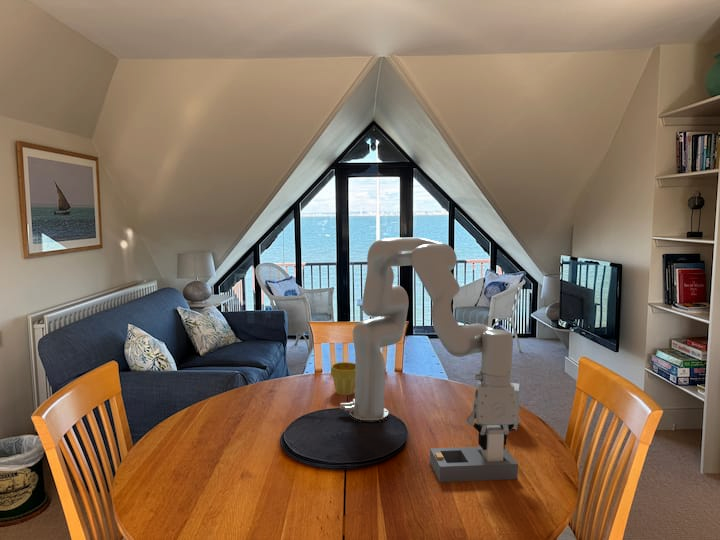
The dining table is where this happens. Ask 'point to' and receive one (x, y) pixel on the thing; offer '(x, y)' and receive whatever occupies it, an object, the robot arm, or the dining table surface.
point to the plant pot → (344, 377)
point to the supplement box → (517, 392)
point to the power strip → (470, 465)
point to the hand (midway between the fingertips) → (492, 446)
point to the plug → (494, 444)
